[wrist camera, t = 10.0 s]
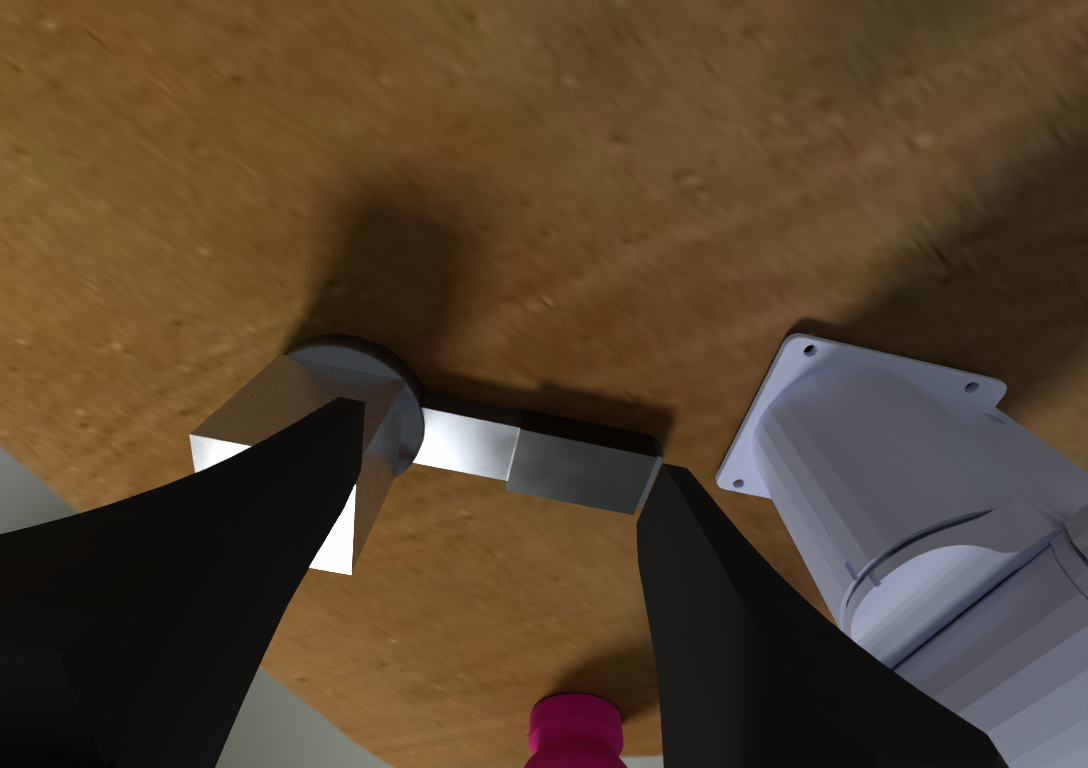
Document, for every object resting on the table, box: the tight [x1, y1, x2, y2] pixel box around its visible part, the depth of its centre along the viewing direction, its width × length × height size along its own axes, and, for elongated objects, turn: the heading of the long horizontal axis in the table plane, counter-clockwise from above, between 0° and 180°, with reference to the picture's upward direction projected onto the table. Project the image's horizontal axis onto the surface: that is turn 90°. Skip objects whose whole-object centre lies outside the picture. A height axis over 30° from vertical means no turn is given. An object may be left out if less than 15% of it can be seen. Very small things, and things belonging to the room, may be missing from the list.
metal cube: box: [190, 354, 406, 575], centre depth 19 cm, size 5×5×6 cm
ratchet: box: [286, 335, 663, 515], centre depth 21 cm, size 17×7×4 cm, turn 77°
